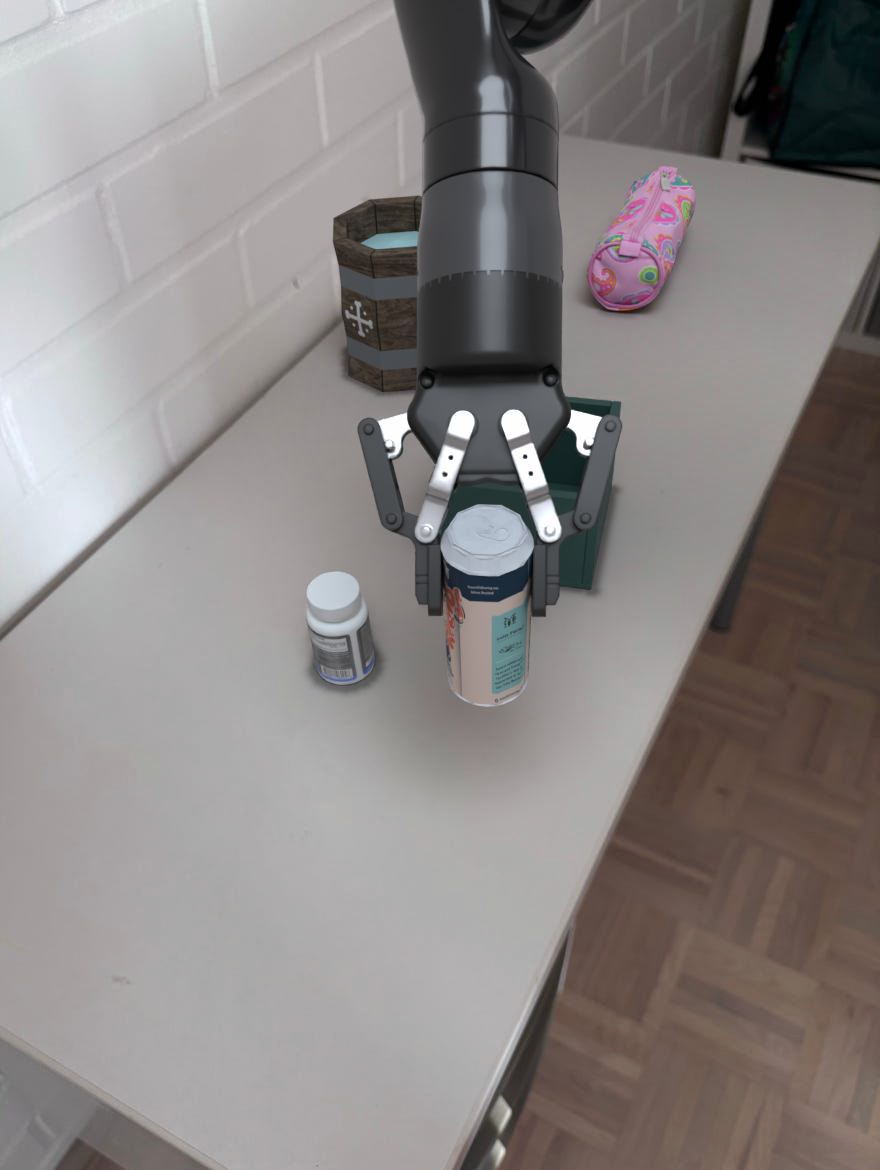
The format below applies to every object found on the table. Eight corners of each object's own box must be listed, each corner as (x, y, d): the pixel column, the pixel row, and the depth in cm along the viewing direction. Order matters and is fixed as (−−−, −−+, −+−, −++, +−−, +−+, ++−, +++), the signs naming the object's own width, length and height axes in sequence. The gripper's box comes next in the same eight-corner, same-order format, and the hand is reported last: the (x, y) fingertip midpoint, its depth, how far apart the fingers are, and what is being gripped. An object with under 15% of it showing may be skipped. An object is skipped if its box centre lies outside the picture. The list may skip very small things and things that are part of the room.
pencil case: (623, 229, 125) (631, 156, 119) (695, 237, 123) (707, 163, 116) (577, 311, 112) (583, 234, 106) (657, 323, 110) (668, 244, 103)
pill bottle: (353, 633, 80) (341, 558, 74) (386, 666, 78) (377, 591, 72) (304, 661, 79) (289, 586, 72) (337, 696, 76) (324, 621, 70)
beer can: (466, 641, 61) (462, 489, 52) (539, 664, 59) (548, 510, 50) (434, 697, 58) (424, 547, 49) (510, 722, 56) (513, 571, 47)
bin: (611, 488, 91) (621, 401, 84) (591, 589, 82) (600, 501, 75) (467, 472, 94) (466, 386, 87) (433, 568, 85) (428, 481, 78)
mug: (324, 382, 106) (305, 248, 95) (371, 319, 114) (358, 189, 103) (499, 410, 100) (500, 270, 89) (534, 342, 109) (540, 206, 98)
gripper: (340, 268, 48) (341, 617, 49) (640, 258, 46) (635, 618, 47) (362, 312, 55) (362, 614, 56) (620, 305, 54) (616, 615, 55)
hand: (487, 614), depth 52 cm, fingers closed on beer can, 4 cm apart
